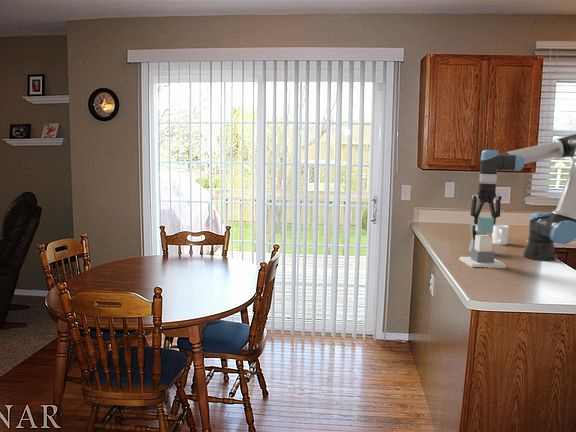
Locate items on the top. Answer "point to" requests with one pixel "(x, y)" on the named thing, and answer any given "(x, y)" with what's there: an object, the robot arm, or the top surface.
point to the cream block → (483, 243)
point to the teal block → (486, 224)
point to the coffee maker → (473, 236)
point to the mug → (500, 234)
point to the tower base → (490, 265)
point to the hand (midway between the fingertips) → (484, 231)
